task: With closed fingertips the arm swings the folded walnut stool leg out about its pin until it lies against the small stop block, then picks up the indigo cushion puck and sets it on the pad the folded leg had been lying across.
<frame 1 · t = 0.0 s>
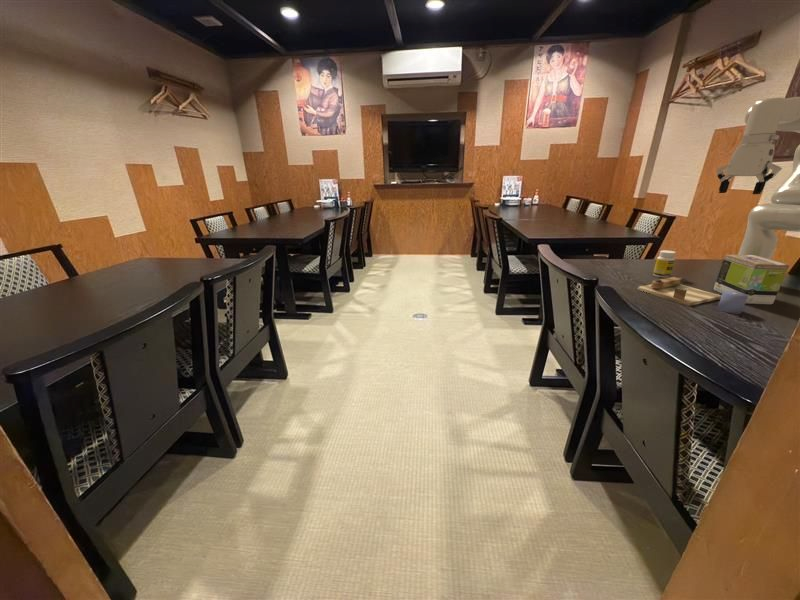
hand: (738, 193, 115), 37 cm above the table, tool pointing down, fingers open, 9 cm apart
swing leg: (667, 281, 129), point 3 cm above the table, hinge at 0.0°
tea box: (740, 297, 121), on the table
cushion: (729, 310, 110), on the table
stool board: (677, 293, 125), on the table
supplement bottle: (661, 276, 146), on the table
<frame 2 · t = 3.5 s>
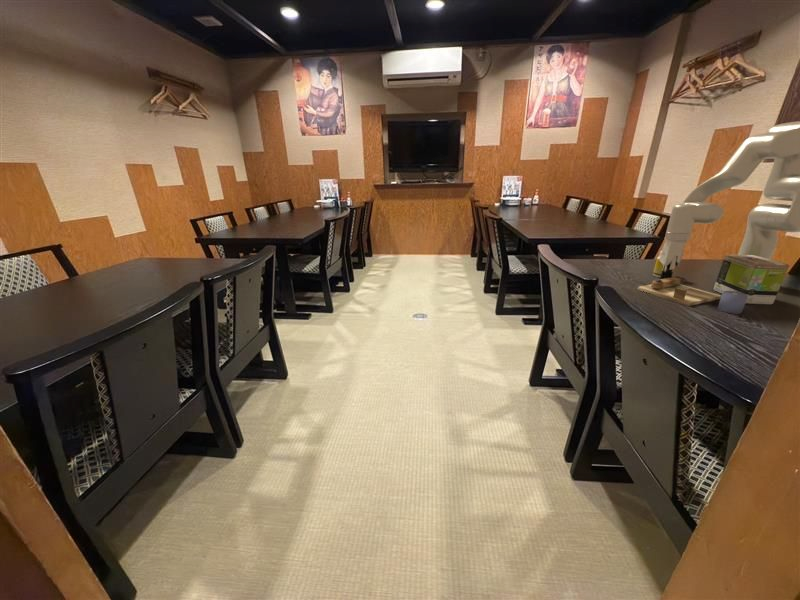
hand: (664, 280, 133), 2 cm above the table, tool pointing down, fingers closed
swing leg: (667, 281, 129), point 3 cm above the table, hinge at 0.1°, touching gripper
everything else where it was.
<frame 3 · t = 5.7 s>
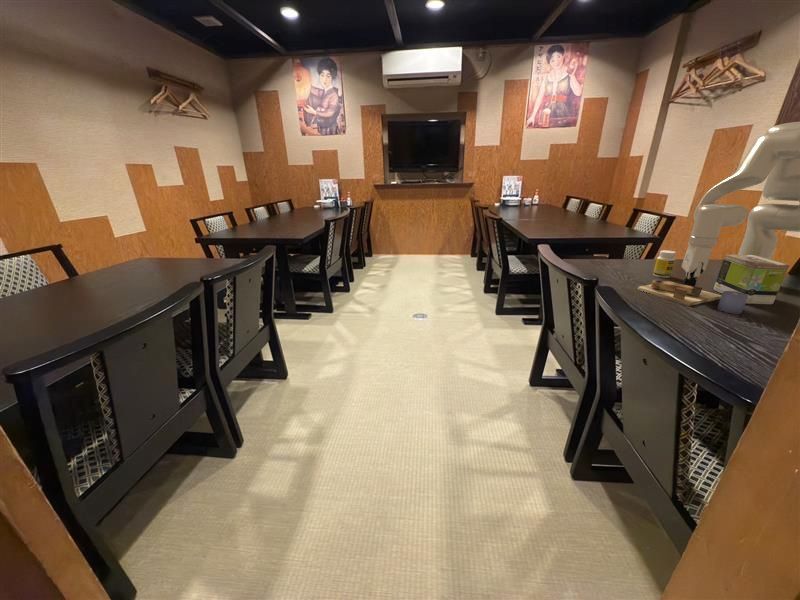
hand: (687, 288, 123), 3 cm above the table, tool pointing down, fingers closed
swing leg: (675, 286, 123), point 3 cm above the table, hinge at 66.1°, touching gripper
everything else where it was.
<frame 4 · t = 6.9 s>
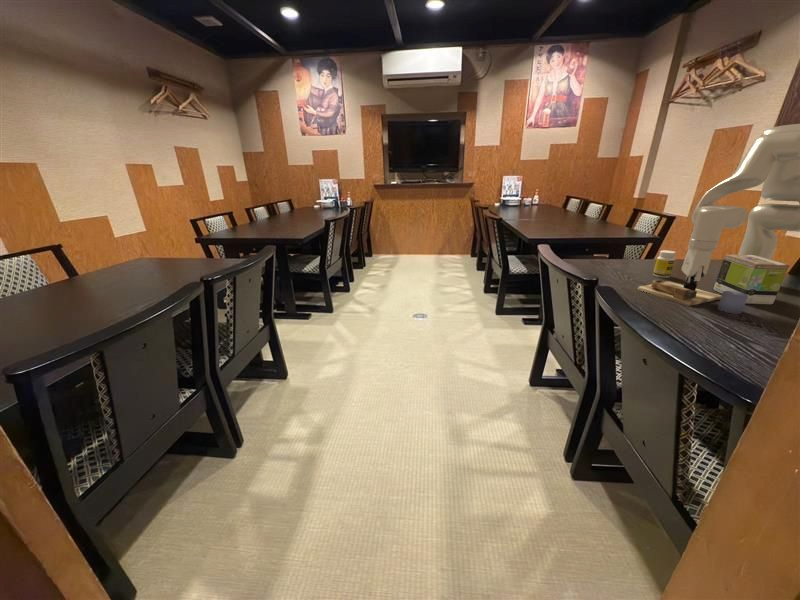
hand: (688, 292, 120), 2 cm above the table, tool pointing down, fingers closed
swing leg: (672, 288, 122), point 3 cm above the table, hinge at 93.2°, touching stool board
everything else where it was.
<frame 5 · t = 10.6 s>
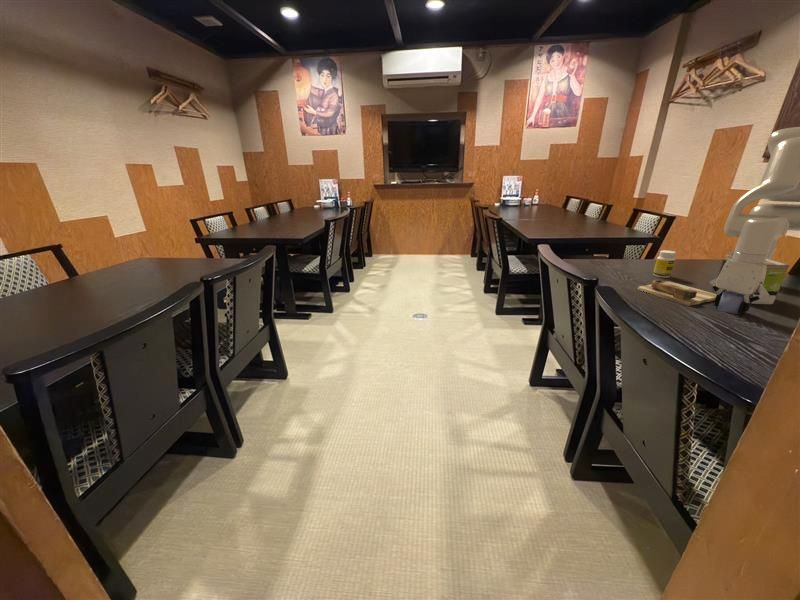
hand: (729, 308, 110), 1 cm above the table, tool pointing down, fingers closed on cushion, 6 cm apart
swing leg: (672, 288, 122), point 3 cm above the table, hinge at 93.2°
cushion: (729, 310, 110), on the table, touching gripper
everything else where it was.
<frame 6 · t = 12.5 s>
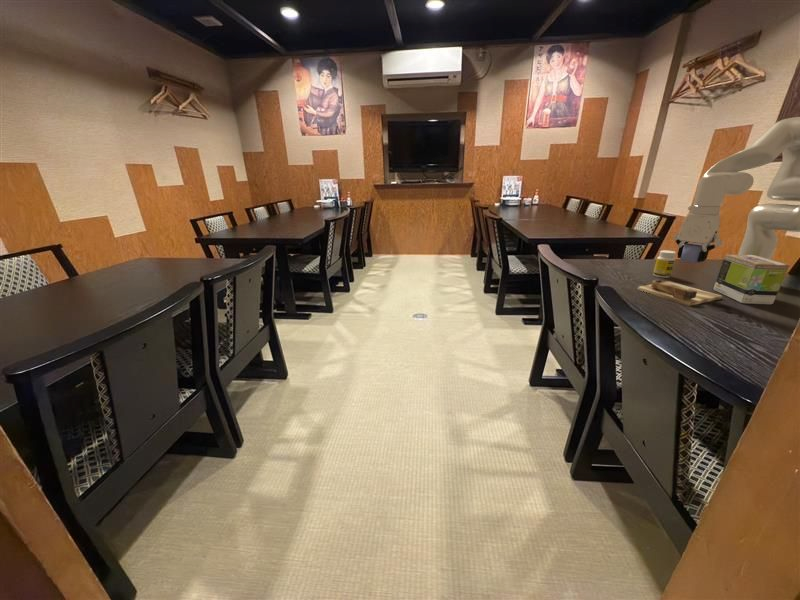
hand: (690, 259, 121), 14 cm above the table, tool pointing down, fingers closed on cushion, 6 cm apart
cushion: (690, 260, 122), point 13 cm above the table, touching gripper
everything else where it was.
when the fingers open (3 cm above the table, at t = 14.4 s): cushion stays where it is, resting on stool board.
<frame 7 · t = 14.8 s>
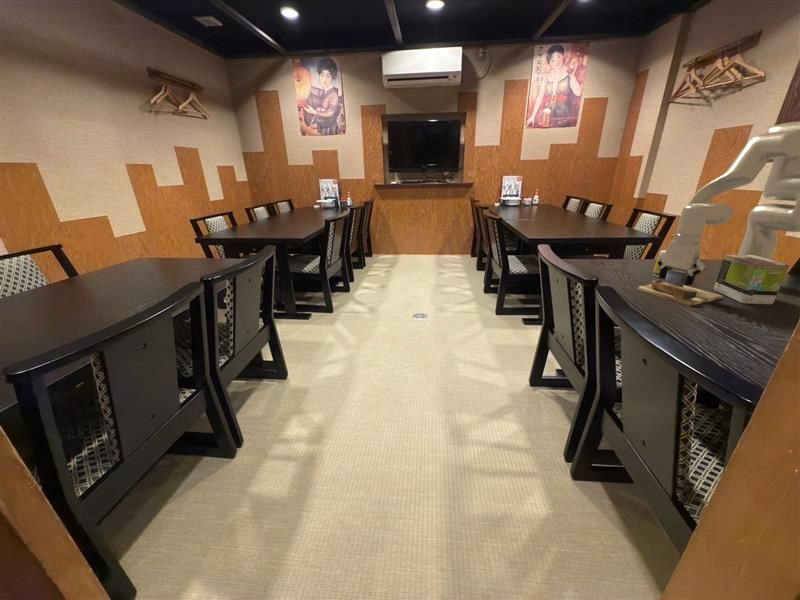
hand: (674, 281, 128), 4 cm above the table, tool pointing down, fingers open, 9 cm apart
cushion: (673, 286, 129), point 1 cm above the table, touching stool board
everything else where it was.
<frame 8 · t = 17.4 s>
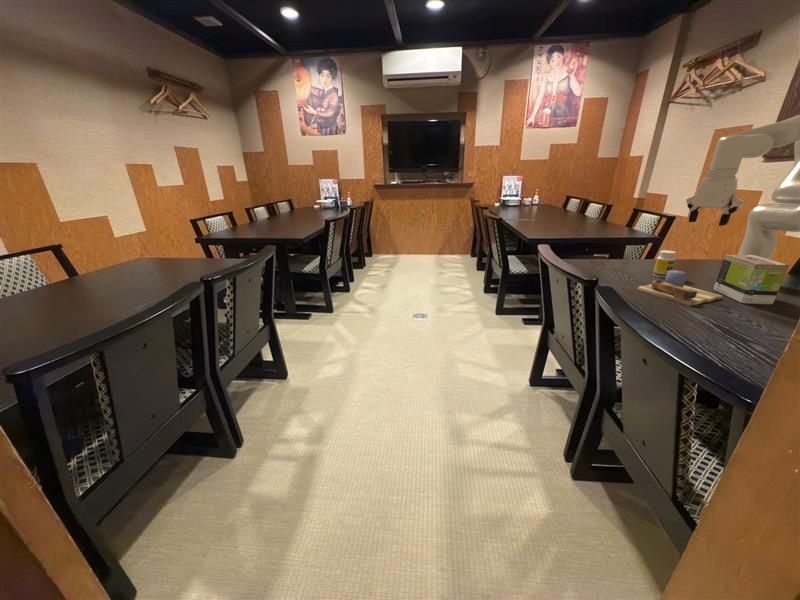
hand: (706, 223, 120), 26 cm above the table, tool pointing down, fingers open, 9 cm apart
nothing on the table moved.
at the end: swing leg at +93° (first picture: +0°); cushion inside the target area (0.0 cm from its centre), point 1.3 cm above the table; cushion tilted 0° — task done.
